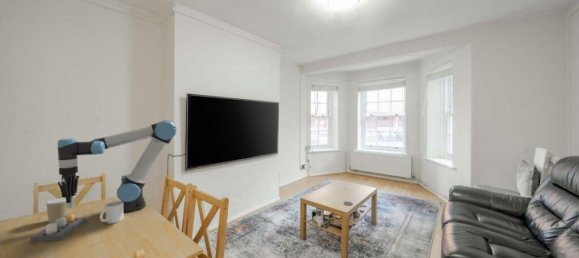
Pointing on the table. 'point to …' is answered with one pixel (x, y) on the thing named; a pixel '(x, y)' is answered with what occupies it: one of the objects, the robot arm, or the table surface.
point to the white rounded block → (51, 229)
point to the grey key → (61, 222)
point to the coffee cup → (56, 209)
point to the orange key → (70, 218)
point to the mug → (113, 212)
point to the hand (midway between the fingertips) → (70, 207)
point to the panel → (59, 231)
